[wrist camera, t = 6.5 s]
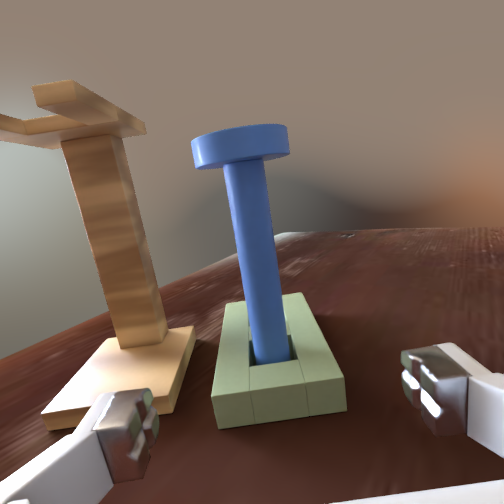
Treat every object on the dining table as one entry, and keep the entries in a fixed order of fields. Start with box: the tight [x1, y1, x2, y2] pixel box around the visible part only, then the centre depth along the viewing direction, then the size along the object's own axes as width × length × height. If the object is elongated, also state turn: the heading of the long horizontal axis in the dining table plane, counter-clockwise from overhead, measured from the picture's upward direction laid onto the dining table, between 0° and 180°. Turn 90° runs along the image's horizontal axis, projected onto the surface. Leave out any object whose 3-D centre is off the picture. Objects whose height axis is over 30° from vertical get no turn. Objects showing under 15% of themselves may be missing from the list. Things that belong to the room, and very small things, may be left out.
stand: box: [0, 80, 196, 431], centre depth 22 cm, size 11×9×21 cm
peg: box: [191, 124, 291, 366], centre depth 20 cm, size 6×6×18 cm
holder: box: [211, 293, 347, 429], centre depth 25 cm, size 8×14×2 cm, turn 1°
